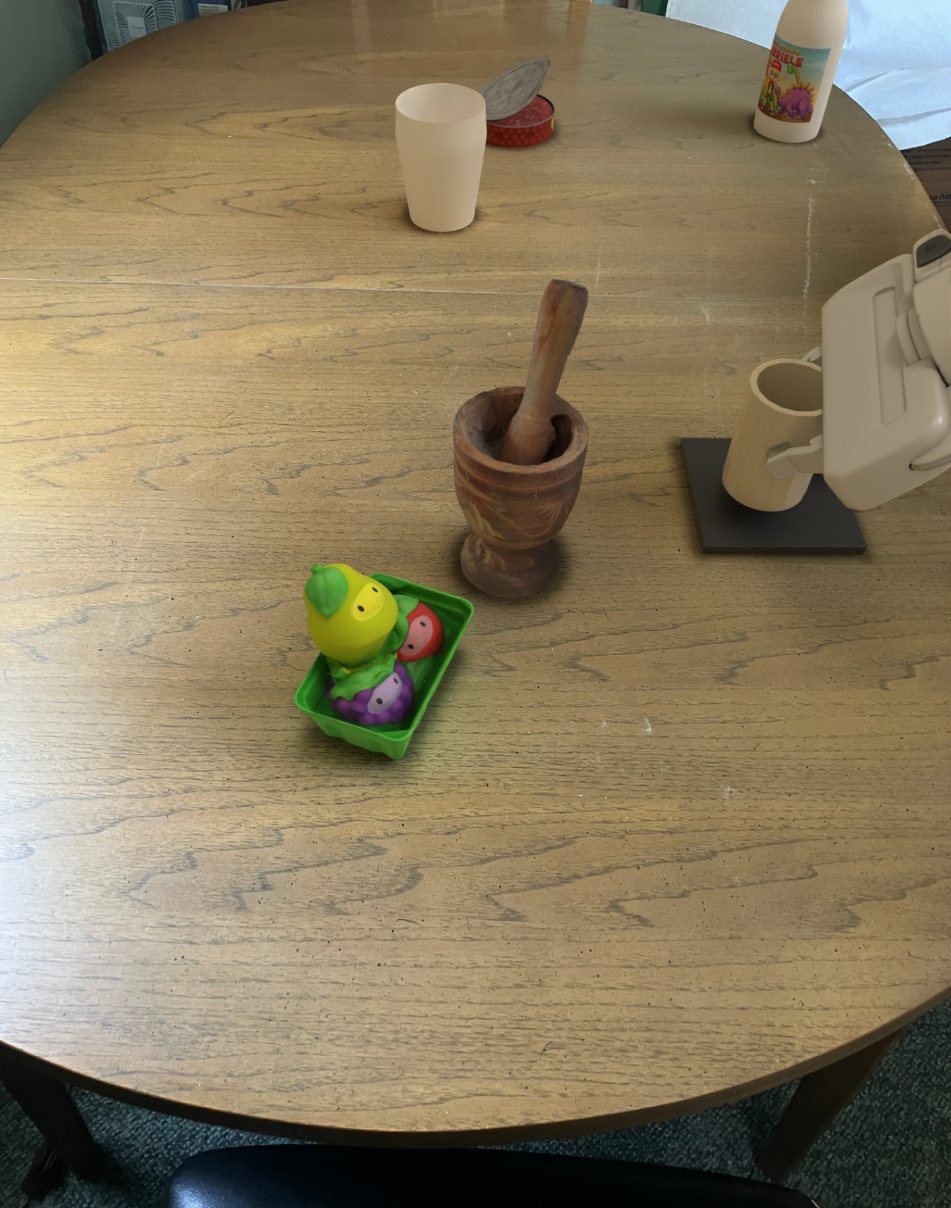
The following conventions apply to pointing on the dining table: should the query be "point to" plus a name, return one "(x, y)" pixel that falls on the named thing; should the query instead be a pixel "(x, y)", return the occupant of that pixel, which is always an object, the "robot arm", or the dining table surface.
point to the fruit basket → (376, 654)
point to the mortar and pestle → (522, 460)
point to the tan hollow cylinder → (774, 432)
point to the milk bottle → (801, 69)
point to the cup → (441, 153)
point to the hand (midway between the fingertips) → (771, 431)
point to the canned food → (519, 105)
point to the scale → (763, 512)
